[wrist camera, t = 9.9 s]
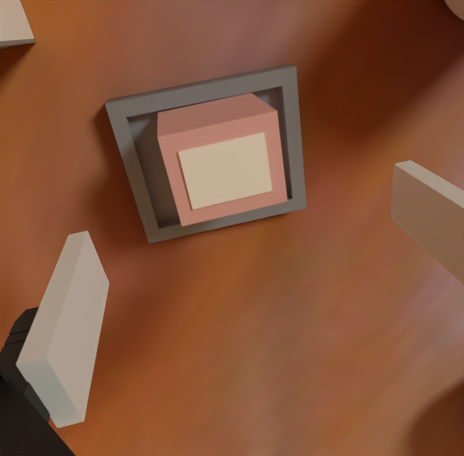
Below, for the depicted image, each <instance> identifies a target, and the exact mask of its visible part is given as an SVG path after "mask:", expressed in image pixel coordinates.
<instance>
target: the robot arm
mask: <svg viewBox="0 0 464 456" xmlns="http://www.w3.org/2000/svg"><path fill="white" fill-rule="evenodd" d="M390 219H391V220H392V221H393V222H394V223H395V224H396V225H397V226H398V227H400V228H401V229H402V230H403V231H404V232H405V233H406V234H407V235H409V236H410V237H411V238H412V239H413V240H414V241H415V242H417V243H418V244H419V245H420V246H421V247H422V248H423V249H424V250H426V251H427V252H428V253H429V254H430V255H431V256H432V257H433V258H435V259H436V260H437V261H438V262H439V263H440V264H441V265H443V266H444V267H445V268H446V269H447V270H448V271H449V272H450V273H452V274H453V275H454V276H455V277H456V278H457V279H458V280H460V281H461V282H462V283H463V284H464V191H463V190H461V189H460V188H458V187H456V186H454V185H453V184H451V183H449V182H447V181H446V180H444V179H442V178H441V177H439V176H437V175H435V174H434V173H432V172H430V171H428V170H427V169H425V168H423V167H422V166H420V165H418V164H416V163H415V162H413V161H411V160H410V161H405V162H401V163H396V164H394V171H393V187H392V202H391V218H390ZM108 287H109V282H108V279H107V277H106V274H105V272H104V269H103V267H102V265H101V262H100V260H99V257H98V255H97V252H96V250H95V248H94V245H93V243H92V240H91V238H90V235H89V233H88V231H84V232H79V233H75V234H70V235H68V238H67V240H66V243H65V245H64V248H63V250H62V252H61V255H60V257H59V260H58V262H57V265H56V267H55V270H54V272H53V274H52V277H51V279H50V282H49V284H48V287H47V289H46V292H45V294H44V297H43V299H42V301H41V304H40V306H39V307H36V308H32V309H27V310H25V311H24V313H23V314H22V315H21V316H20V317H19V318H18V319H17V320H16V321H15V323H14V325H13V327H12V329H11V331H10V333H9V336H8V338H7V340H6V342H5V346H4V347H3V348H2V350H1V353H0V456H75V455H74V453H73V452H72V451H71V450H70V449H69V447H68V446H67V445H66V444H65V443H64V442H63V440H62V439H61V438H60V437H59V436H58V434H57V433H56V432H55V431H54V430H53V429H52V427H51V426H50V425H49V424H48V421H49V418H50V417H51V419H52V420H53V422H54V423H55V425H56V426H57V428H60V427H64V426H68V425H72V424H76V423H80V422H84V418H85V413H86V407H87V402H88V396H89V391H90V386H91V380H92V375H93V369H94V364H95V358H96V353H97V347H98V342H99V337H100V331H101V326H102V320H103V315H104V309H105V304H106V298H107V293H108Z"/></svg>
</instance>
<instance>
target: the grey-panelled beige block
mask: <svg viewBox="0 0 464 456" xmlns="http://www.w3.org/2000/svg"><path fill="white" fill-rule="evenodd" d="M35 42H36V41H35V39H34V37H33V34H32V31H31V29H30V26H29V23H28V21H27V18H26V15H25V12H24V10H23V7H22V4H21V2H20V0H0V49H2V48H8V47H13V46H19V45H24V44H30V43H35Z"/></svg>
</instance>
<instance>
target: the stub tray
mask: <svg viewBox="0 0 464 456" xmlns="http://www.w3.org/2000/svg"><path fill="white" fill-rule="evenodd" d="M250 92H251V93H252V94H254V95H255V96H256V97H258V98H259V99H261V100H262V101H264V102H265V103H267V104H268V105H269V106H271V107H272V108H274V109H275V110H277V115H278V123H279V132H280V140H281V149H282V158H283V166H284V175H285V183H286V192H287V200H288V201H287V202H283V203H279V204H275V205H271V206H266V207H262V208H258V209H254V210H250V211H245V212H241V213H237V214H233V215H228V216H224V217H220V218H216V219H212V220H207V221H203V222H199V223H195V224H191V225H186V226H182V225H181V221H180V218H179V214H178V211H177V207H176V203H175V200H174V196H173V192H172V189H171V185H170V182H169V178H168V174H167V171H166V167H165V164H164V160H163V156H162V153H161V149H160V145H159V142H158V138H157V127H158V111H160V110H165V109H170V108H175V107H180V106H185V105H190V104H195V103H200V102H205V101H210V100H215V99H220V98H225V97H230V96H235V95H240V94H245V93H250ZM105 106H106V109H107V113H108V116H109V119H110V122H111V125H112V128H113V132H114V135H115V138H116V141H117V144H118V148H119V151H120V154H121V157H122V160H123V163H124V167H125V170H126V173H127V176H128V179H129V183H130V186H131V189H132V192H133V195H134V199H135V202H136V205H137V208H138V211H139V214H140V218H141V221H142V224H143V227H144V230H145V234H146V237H147V240H148V243H149V244H150V243H154V242H159V241H163V240H168V239H172V238H176V237H181V236H185V235H190V234H194V233H199V232H203V231H208V230H212V229H217V228H221V227H225V226H230V225H234V224H239V223H243V222H248V221H252V220H257V219H261V218H265V217H270V216H274V215H279V214H283V213H288V212H292V211H297V210H301V209H305V208H307V206H306V192H305V179H304V165H303V152H302V138H301V125H300V111H299V98H298V84H297V71H296V66H294V65H290V64H288V65H283V66H278V67H273V68H268V69H262V70H257V71H252V72H247V73H242V74H237V75H232V76H227V77H222V78H217V79H212V80H207V81H201V82H196V83H191V84H186V85H181V86H176V87H171V88H166V89H161V90H156V91H151V92H146V93H140V94H135V95H130V96H125V97H120V98H115V99H110V100H107V102H106V103H105Z"/></svg>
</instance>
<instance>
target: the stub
mask: <svg viewBox="0 0 464 456" xmlns="http://www.w3.org/2000/svg"><path fill="white" fill-rule="evenodd" d="M157 138H158V142H159V145H160V149H161V153H162V156H163V160H164V164H165V167H166V171H167V174H168V178H169V182H170V185H171V189H172V192H173V196H174V200H175V203H176V207H177V211H178V214H179V218H180V221H181V225H182V226H186V225H191V224H195V223H199V222H203V221H207V220H212V219H216V218H220V217H224V216H228V215H233V214H237V213H241V212H245V211H250V210H254V209H258V208H262V207H266V206H271V205H275V204H279V203H283V202H287V201H288V200H287V192H286V183H285V175H284V166H283V158H282V149H281V140H280V132H279V123H278V115H277V110H275V109H274V108H272V107H271V106H269V105H268V104H267V103H265V102H264V101H262V100H261V99H259V98H258V97H256V96H255V95H254V94H252V93H251V92H250V93H245V94H240V95H235V96H230V97H225V98H220V99H215V100H210V101H205V102H200V103H195V104H190V105H185V106H180V107H175V108H170V109H165V110H160V111H158V127H157Z"/></svg>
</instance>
